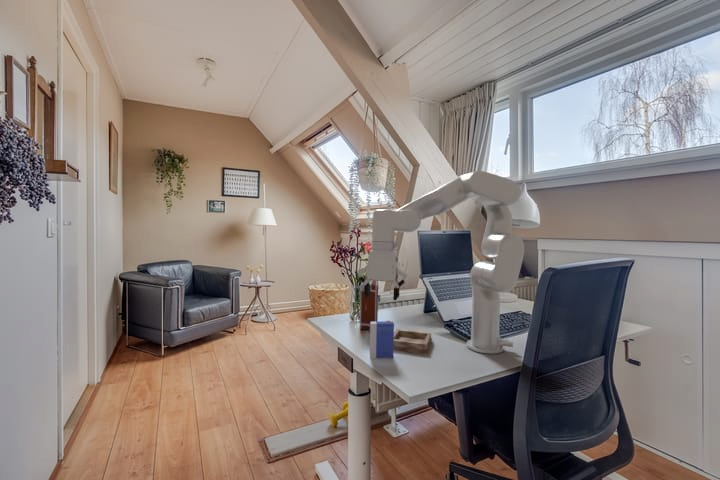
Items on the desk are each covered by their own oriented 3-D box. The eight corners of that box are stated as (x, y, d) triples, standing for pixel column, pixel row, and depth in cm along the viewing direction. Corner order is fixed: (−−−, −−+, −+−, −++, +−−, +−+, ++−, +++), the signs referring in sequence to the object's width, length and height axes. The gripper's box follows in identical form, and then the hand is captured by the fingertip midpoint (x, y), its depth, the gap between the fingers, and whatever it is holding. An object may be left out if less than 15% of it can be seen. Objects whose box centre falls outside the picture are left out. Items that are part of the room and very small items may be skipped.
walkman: (391, 355, 114) (392, 320, 114) (393, 358, 112) (394, 322, 111) (369, 355, 114) (369, 320, 113) (369, 358, 111) (370, 322, 111)
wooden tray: (431, 341, 129) (432, 332, 129) (426, 354, 116) (427, 344, 115) (396, 336, 133) (396, 328, 133) (387, 348, 120) (387, 339, 120)
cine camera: (380, 318, 159) (381, 277, 158) (378, 331, 140) (379, 284, 139) (361, 318, 160) (361, 276, 159) (356, 330, 140) (357, 283, 140)
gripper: (411, 247, 112) (409, 298, 112) (362, 245, 117) (360, 293, 118) (406, 248, 105) (404, 303, 105) (354, 246, 110) (353, 297, 111)
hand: (381, 298), depth 112 cm, fingers open, 9 cm apart
